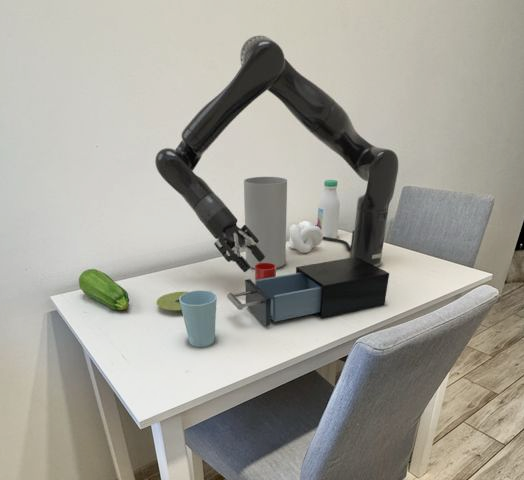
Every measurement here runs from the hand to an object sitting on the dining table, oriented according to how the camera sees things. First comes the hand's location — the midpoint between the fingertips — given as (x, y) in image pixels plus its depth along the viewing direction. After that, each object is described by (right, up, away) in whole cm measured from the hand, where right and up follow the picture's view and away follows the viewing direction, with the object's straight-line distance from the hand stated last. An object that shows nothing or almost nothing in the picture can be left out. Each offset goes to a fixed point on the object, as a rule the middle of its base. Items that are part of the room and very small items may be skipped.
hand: (255, 264), depth 111 cm
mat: (-19, -12, -3) cm, 23 cm away
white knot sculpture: (+16, +12, +35) cm, 40 cm away
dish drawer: (+5, -13, -8) cm, 16 cm away
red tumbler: (+3, -7, +3) cm, 8 cm away
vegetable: (-39, -10, 0) cm, 40 cm away
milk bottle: (+26, +20, +48) cm, 58 cm away
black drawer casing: (+22, -10, -1) cm, 24 cm away
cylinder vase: (+3, +5, +24) cm, 24 cm away
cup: (-12, -21, -18) cm, 30 cm away
